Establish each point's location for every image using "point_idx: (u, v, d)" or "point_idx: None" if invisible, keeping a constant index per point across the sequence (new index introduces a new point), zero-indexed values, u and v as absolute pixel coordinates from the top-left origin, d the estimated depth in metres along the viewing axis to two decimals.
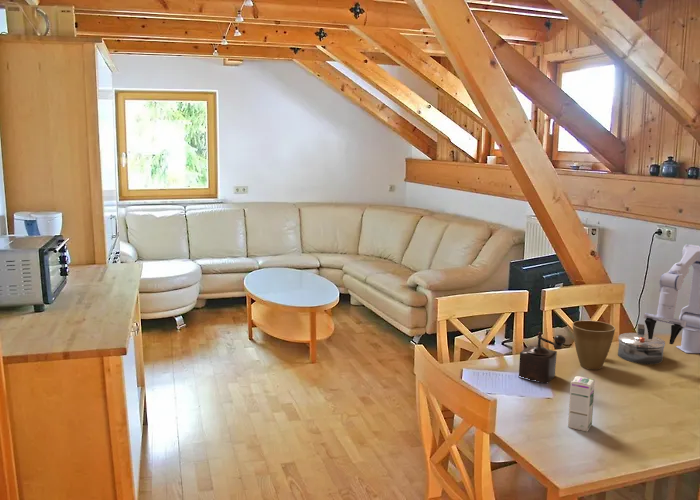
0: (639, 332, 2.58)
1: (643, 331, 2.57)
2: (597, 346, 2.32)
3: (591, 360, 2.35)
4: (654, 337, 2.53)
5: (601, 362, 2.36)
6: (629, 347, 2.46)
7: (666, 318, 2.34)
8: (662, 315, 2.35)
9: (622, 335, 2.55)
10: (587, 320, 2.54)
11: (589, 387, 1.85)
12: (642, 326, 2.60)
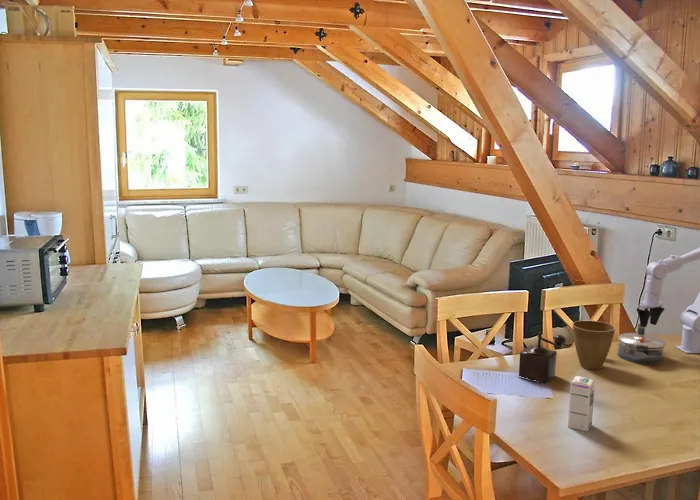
0: (639, 332, 2.58)
1: (643, 331, 2.57)
2: (597, 346, 2.32)
3: (591, 360, 2.35)
4: (654, 337, 2.53)
5: (601, 362, 2.36)
6: (629, 347, 2.46)
7: (643, 302, 2.56)
8: None
9: (622, 335, 2.55)
10: None
11: (589, 387, 1.85)
12: None
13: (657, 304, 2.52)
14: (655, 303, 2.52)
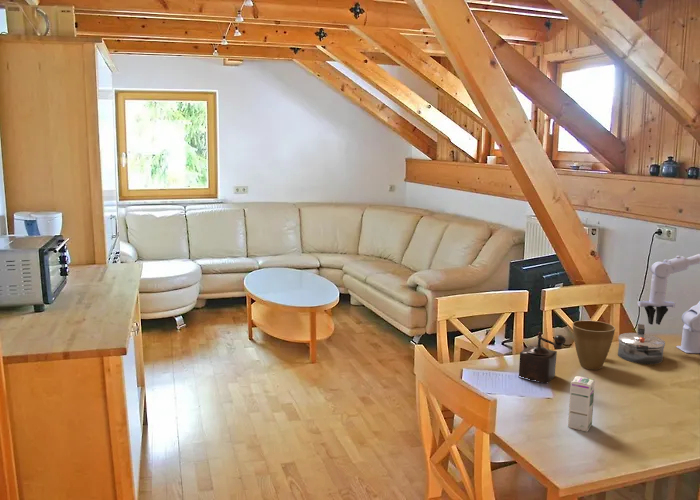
0: (639, 332, 2.58)
1: (643, 331, 2.57)
2: (597, 346, 2.32)
3: (591, 360, 2.35)
4: (654, 337, 2.53)
5: (601, 362, 2.36)
6: (629, 347, 2.46)
7: None
8: None
9: (622, 335, 2.55)
10: (587, 320, 2.54)
11: (589, 387, 1.85)
12: (642, 326, 2.60)
13: (658, 303, 2.56)
14: (656, 301, 2.56)
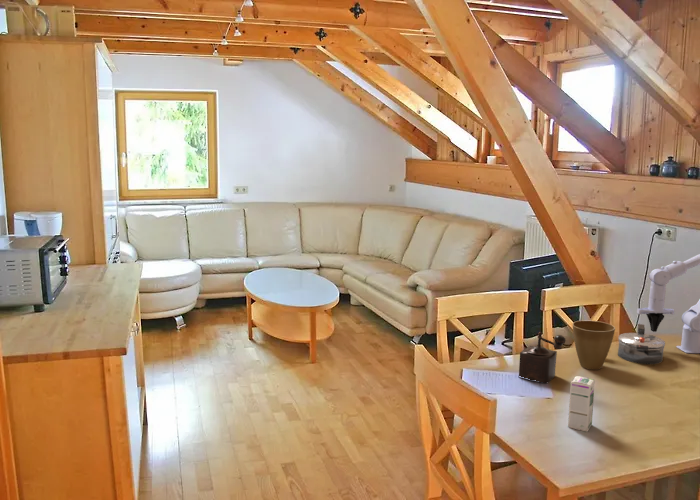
0: (639, 332, 2.58)
1: (643, 331, 2.57)
2: (597, 346, 2.32)
3: (591, 360, 2.35)
4: (654, 337, 2.53)
5: (601, 362, 2.36)
6: (629, 347, 2.46)
7: None
8: None
9: (622, 335, 2.55)
10: None
11: (589, 387, 1.85)
12: (642, 326, 2.60)
13: (657, 310, 2.56)
14: (655, 309, 2.57)
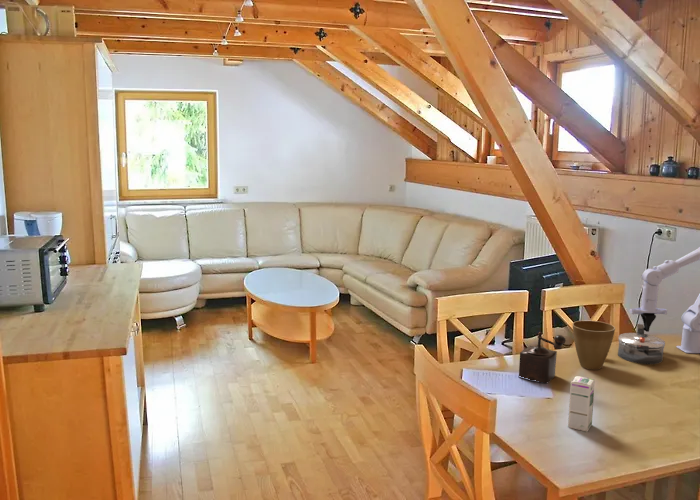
0: (639, 332, 2.58)
1: (643, 331, 2.57)
2: (597, 346, 2.32)
3: (591, 360, 2.35)
4: (654, 337, 2.53)
5: (601, 362, 2.36)
6: (629, 347, 2.46)
7: None
8: None
9: (622, 335, 2.55)
10: (587, 320, 2.54)
11: (589, 387, 1.85)
12: (641, 326, 2.61)
13: (650, 310, 2.56)
14: (647, 309, 2.57)
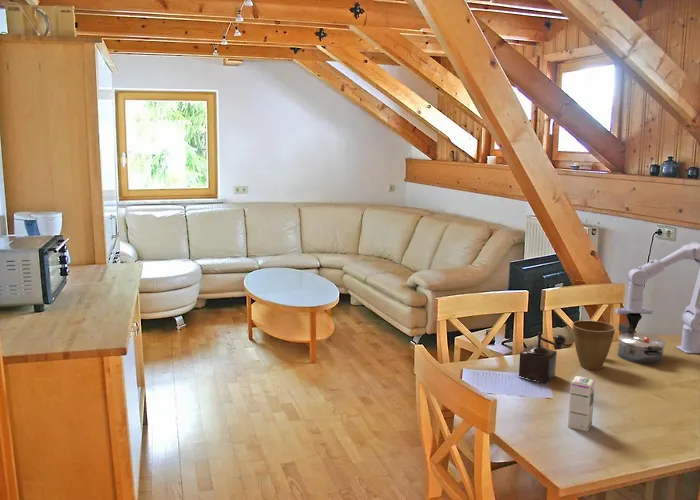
0: (629, 332, 2.58)
1: (632, 330, 2.58)
2: (597, 346, 2.32)
3: (591, 360, 2.35)
4: (646, 335, 2.55)
5: (601, 362, 2.36)
6: (629, 347, 2.46)
7: None
8: None
9: (622, 338, 2.52)
10: (587, 320, 2.54)
11: (589, 387, 1.85)
12: (626, 325, 2.61)
13: (635, 310, 2.56)
14: (633, 309, 2.57)
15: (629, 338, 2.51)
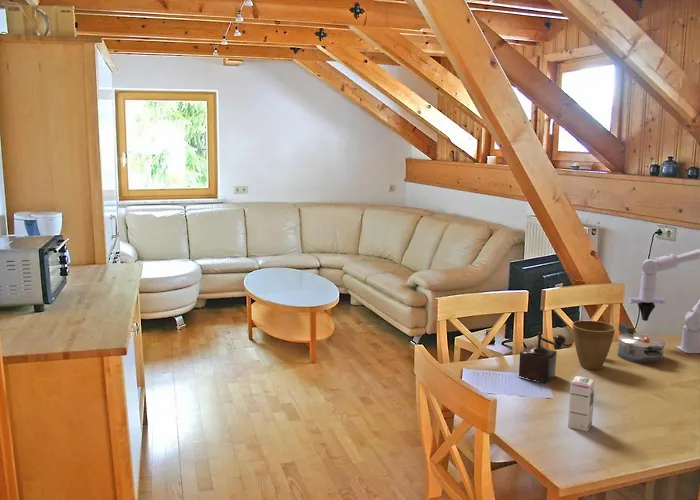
0: (629, 332, 2.58)
1: (632, 330, 2.58)
2: (597, 346, 2.32)
3: (591, 360, 2.35)
4: (646, 335, 2.55)
5: (601, 362, 2.36)
6: (629, 347, 2.46)
7: None
8: None
9: (622, 338, 2.52)
10: None
11: (589, 387, 1.85)
12: (626, 325, 2.61)
13: (648, 299, 2.61)
14: (646, 298, 2.62)
15: (629, 338, 2.51)
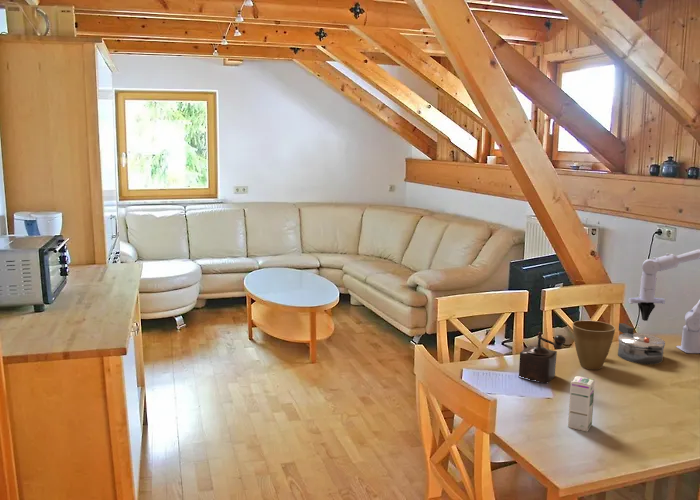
0: (629, 332, 2.58)
1: (632, 330, 2.58)
2: (597, 346, 2.32)
3: (591, 360, 2.35)
4: (646, 335, 2.55)
5: (601, 362, 2.36)
6: (629, 347, 2.46)
7: None
8: None
9: (622, 338, 2.52)
10: None
11: (589, 387, 1.85)
12: (626, 325, 2.61)
13: (648, 299, 2.61)
14: (646, 298, 2.62)
15: (629, 338, 2.51)
